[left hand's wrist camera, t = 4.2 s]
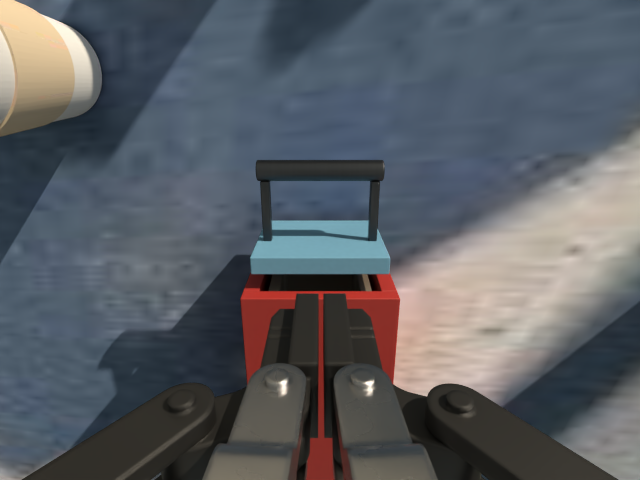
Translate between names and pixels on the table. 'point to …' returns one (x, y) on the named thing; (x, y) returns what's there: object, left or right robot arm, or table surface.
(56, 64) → the coffee cup
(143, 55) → the table surface
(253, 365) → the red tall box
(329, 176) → the drawer
